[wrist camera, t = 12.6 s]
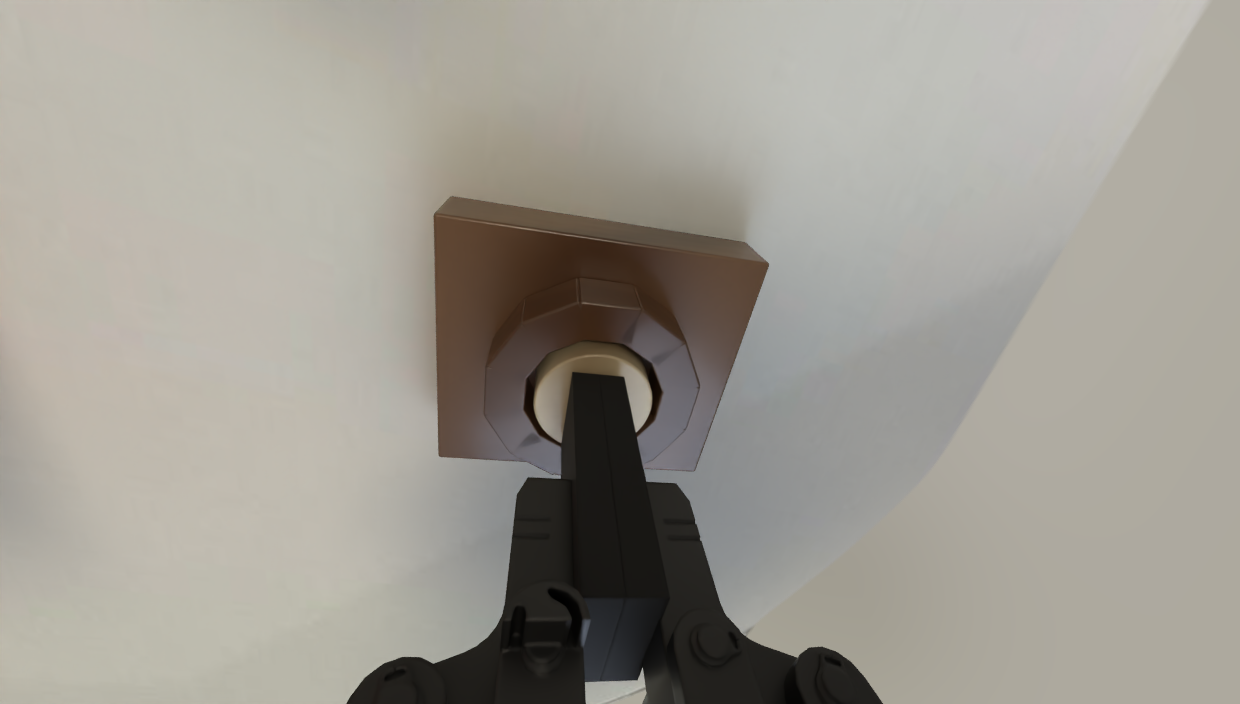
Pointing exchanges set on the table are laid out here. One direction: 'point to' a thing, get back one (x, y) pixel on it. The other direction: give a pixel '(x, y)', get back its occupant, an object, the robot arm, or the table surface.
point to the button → (593, 360)
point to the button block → (580, 323)
